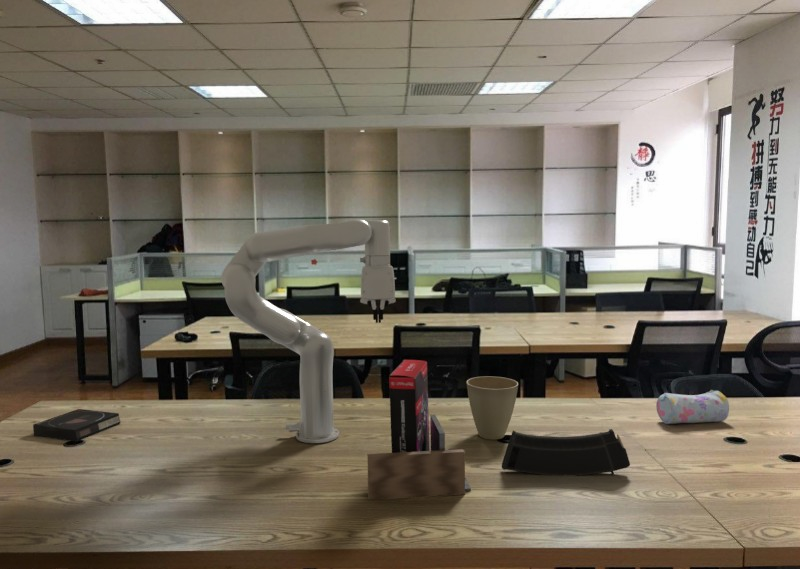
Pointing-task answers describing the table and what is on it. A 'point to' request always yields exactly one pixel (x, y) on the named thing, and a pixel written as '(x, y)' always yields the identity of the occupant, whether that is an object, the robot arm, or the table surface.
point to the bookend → (440, 440)
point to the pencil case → (692, 408)
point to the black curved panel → (565, 454)
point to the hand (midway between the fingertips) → (378, 322)
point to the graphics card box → (409, 407)
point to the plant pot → (492, 404)
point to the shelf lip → (416, 474)
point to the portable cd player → (76, 425)
